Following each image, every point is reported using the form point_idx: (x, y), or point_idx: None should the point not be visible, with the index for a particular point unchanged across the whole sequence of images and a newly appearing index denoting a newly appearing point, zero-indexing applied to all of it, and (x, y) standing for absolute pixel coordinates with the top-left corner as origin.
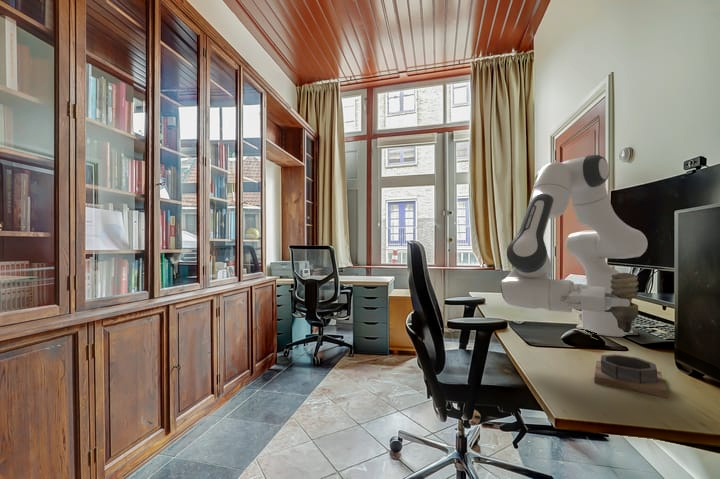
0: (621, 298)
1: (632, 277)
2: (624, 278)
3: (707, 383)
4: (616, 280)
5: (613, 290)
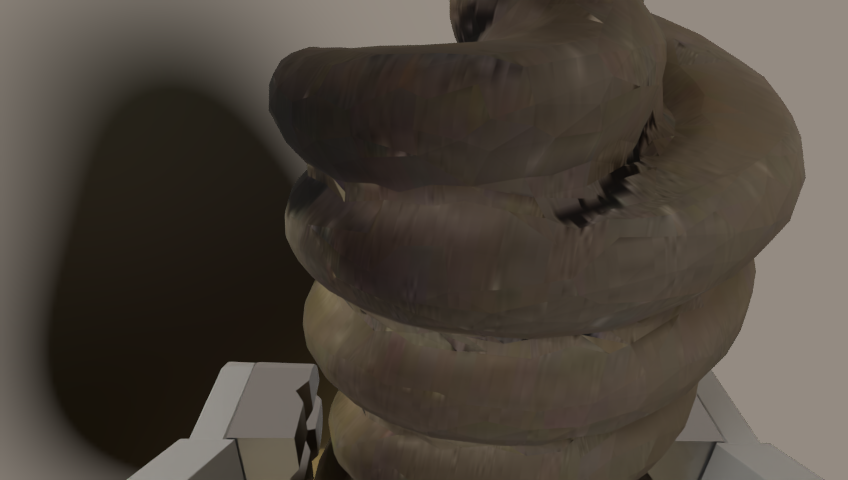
0: (717, 426)
1: (662, 21)
2: (736, 70)
3: None
4: (797, 174)
5: (640, 433)
